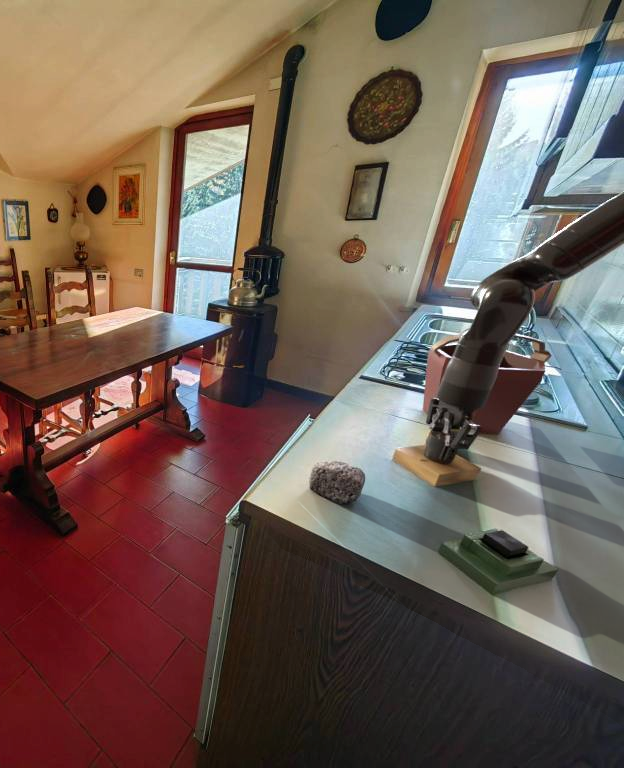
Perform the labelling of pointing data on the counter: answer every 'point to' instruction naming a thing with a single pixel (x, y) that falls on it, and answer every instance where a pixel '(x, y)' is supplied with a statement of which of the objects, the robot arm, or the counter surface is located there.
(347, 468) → the pumice stone
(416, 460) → the flat wooden block
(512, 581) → the block
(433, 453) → the dark grey short cylinder
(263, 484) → the counter surface
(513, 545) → the plate
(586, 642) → the counter surface
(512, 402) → the bucket
